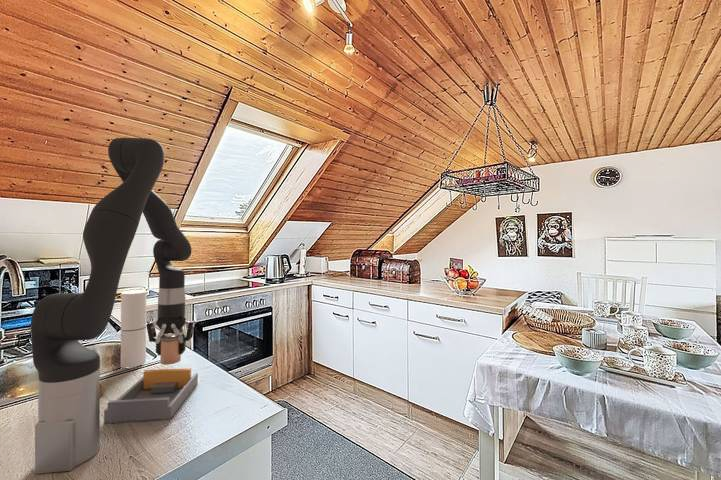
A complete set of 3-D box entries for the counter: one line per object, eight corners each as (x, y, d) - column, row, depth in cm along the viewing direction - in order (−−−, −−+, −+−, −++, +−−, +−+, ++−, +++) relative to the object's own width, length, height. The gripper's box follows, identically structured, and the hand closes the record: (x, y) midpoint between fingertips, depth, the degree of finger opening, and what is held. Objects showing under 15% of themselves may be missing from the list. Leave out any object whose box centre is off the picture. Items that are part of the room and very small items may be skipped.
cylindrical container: (132, 369, 107) (133, 294, 106) (115, 367, 108) (115, 293, 108) (150, 361, 114) (151, 290, 113) (134, 359, 115) (134, 289, 115)
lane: (170, 419, 79) (171, 399, 79) (104, 423, 77) (104, 402, 77) (197, 383, 98) (197, 367, 98) (144, 386, 96) (144, 369, 96)
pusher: (185, 391, 92) (185, 374, 92) (137, 394, 90) (138, 376, 90) (191, 384, 96) (191, 368, 96) (145, 387, 94) (145, 370, 94)
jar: (176, 364, 101) (177, 338, 101) (156, 365, 100) (157, 339, 100) (183, 357, 107) (184, 333, 107) (164, 358, 106) (165, 333, 106)
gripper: (141, 304, 98) (140, 359, 98) (191, 303, 101) (190, 357, 101) (153, 299, 106) (152, 350, 106) (199, 299, 108) (198, 349, 108)
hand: (170, 353), depth 103 cm, fingers closed on jar, 5 cm apart
